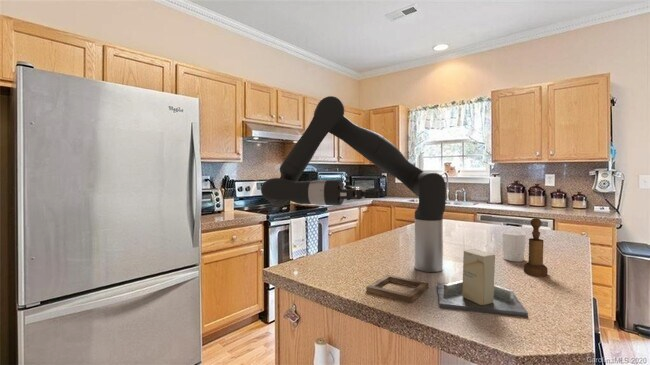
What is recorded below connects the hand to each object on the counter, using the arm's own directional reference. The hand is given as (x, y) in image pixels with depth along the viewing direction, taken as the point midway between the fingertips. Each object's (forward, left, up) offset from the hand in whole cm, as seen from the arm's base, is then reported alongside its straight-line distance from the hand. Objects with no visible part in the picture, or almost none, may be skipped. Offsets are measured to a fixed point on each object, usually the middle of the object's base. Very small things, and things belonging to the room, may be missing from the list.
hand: (381, 192), depth 90 cm
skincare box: (-5, +24, -27) cm, 37 cm away
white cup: (-57, +26, -28) cm, 69 cm away
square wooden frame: (-2, +4, -28) cm, 28 cm away
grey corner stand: (-8, +23, -28) cm, 37 cm away
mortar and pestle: (-42, +34, -28) cm, 61 cm away
